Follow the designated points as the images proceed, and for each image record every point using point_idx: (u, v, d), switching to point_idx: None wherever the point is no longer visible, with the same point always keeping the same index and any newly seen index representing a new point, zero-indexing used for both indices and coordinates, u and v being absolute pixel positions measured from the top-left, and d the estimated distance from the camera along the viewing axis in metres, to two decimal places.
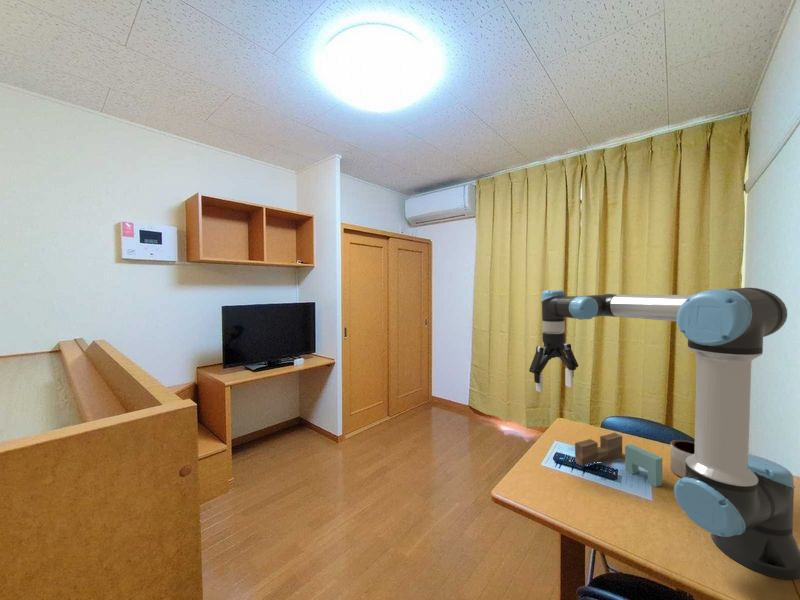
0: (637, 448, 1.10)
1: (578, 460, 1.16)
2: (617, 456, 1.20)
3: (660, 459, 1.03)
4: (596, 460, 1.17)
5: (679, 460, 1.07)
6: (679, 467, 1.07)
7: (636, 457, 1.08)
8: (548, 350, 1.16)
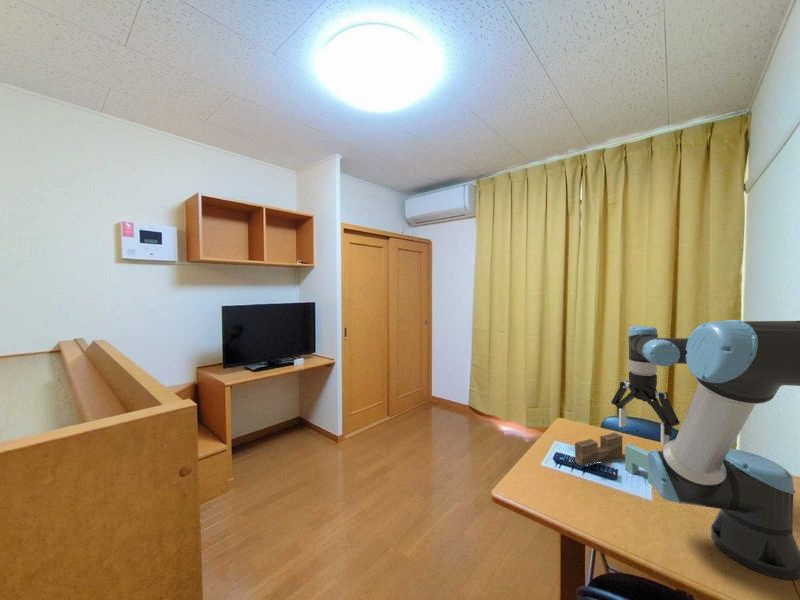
0: (637, 448, 1.10)
1: (578, 460, 1.16)
2: (617, 456, 1.20)
3: None
4: (596, 460, 1.17)
5: None
6: None
7: (636, 457, 1.08)
8: (630, 388, 1.10)
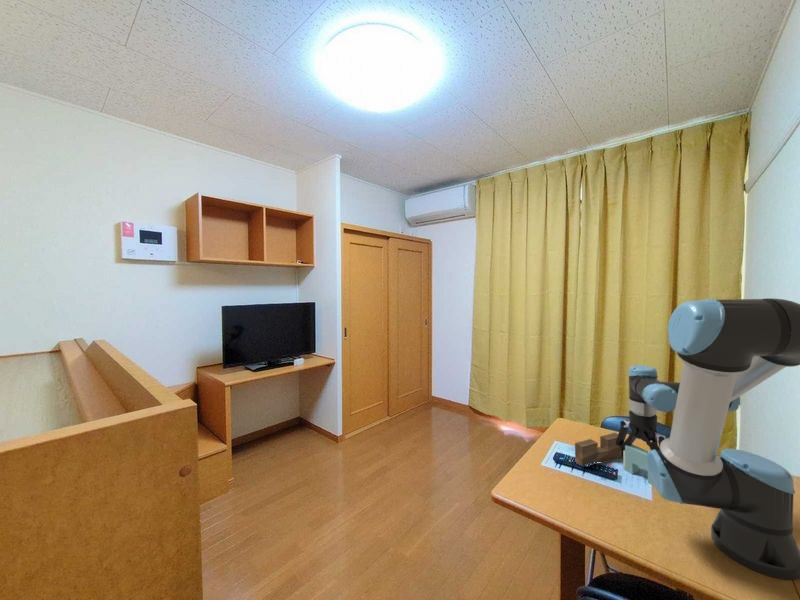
0: (637, 448, 1.10)
1: (578, 460, 1.16)
2: (617, 456, 1.20)
3: None
4: (596, 460, 1.17)
5: None
6: None
7: (636, 457, 1.08)
8: (630, 427, 1.10)
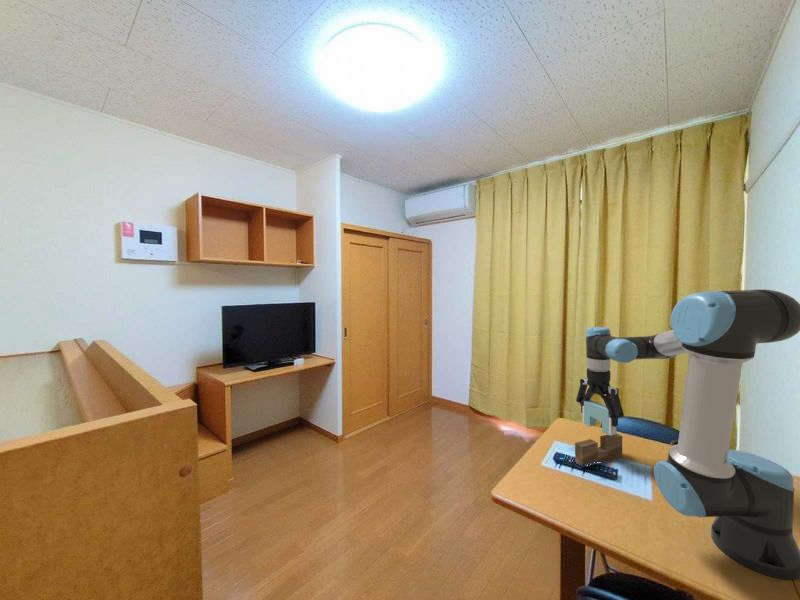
0: (594, 402, 1.20)
1: (578, 460, 1.16)
2: (617, 456, 1.20)
3: None
4: (596, 460, 1.17)
5: None
6: None
7: (593, 410, 1.19)
8: (588, 383, 1.20)
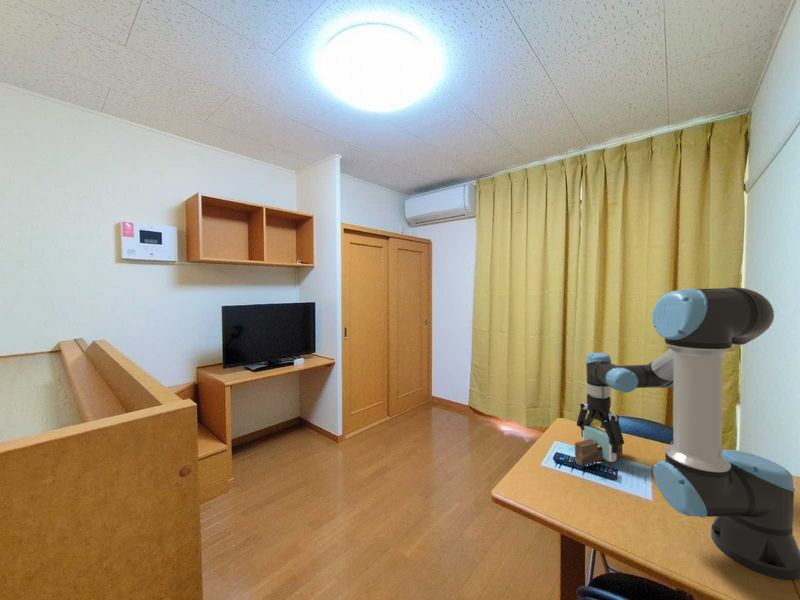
0: (594, 427, 1.21)
1: (578, 460, 1.16)
2: (617, 456, 1.20)
3: None
4: (596, 460, 1.17)
5: None
6: None
7: (593, 435, 1.19)
8: (588, 408, 1.21)
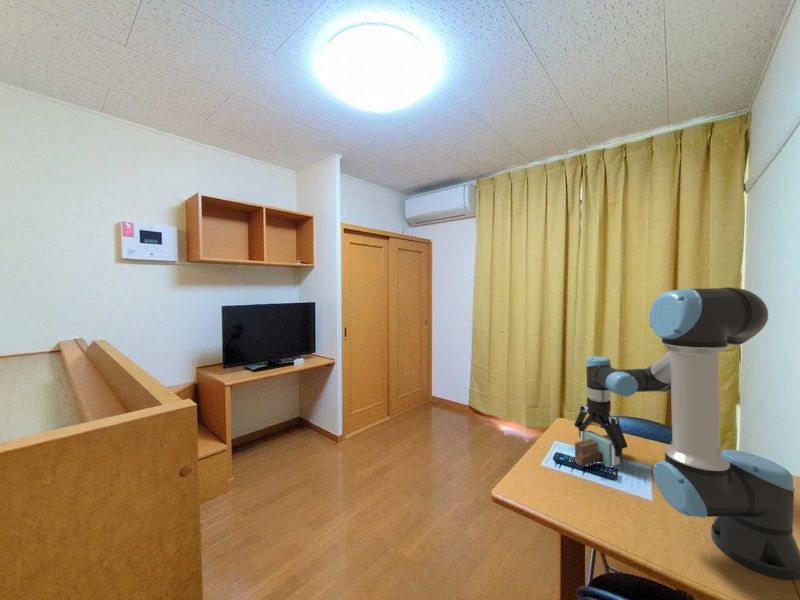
0: (595, 434, 1.21)
1: (578, 460, 1.16)
2: None
3: None
4: (596, 460, 1.17)
5: None
6: None
7: None
8: (588, 412, 1.21)
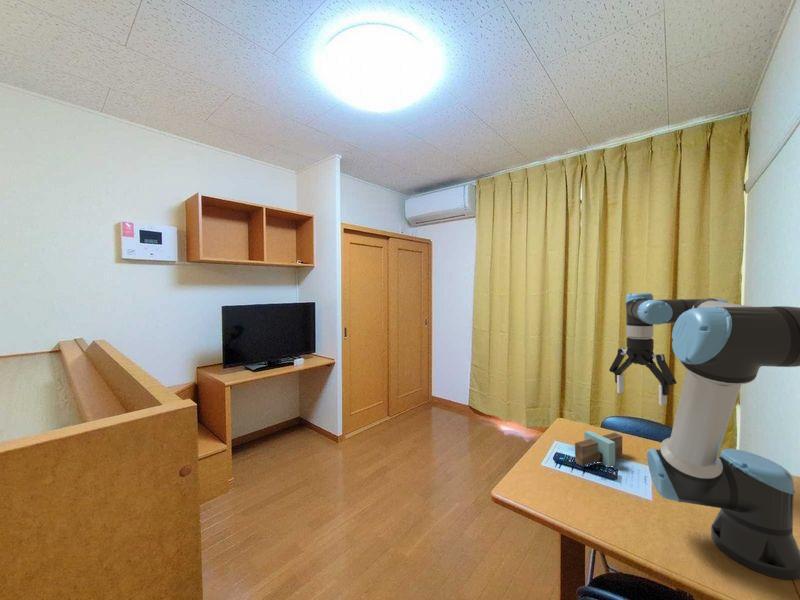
0: (595, 434, 1.21)
1: (578, 460, 1.16)
2: (617, 456, 1.20)
3: (613, 443, 1.14)
4: (596, 460, 1.17)
5: None
6: None
7: None
8: (627, 354, 1.14)
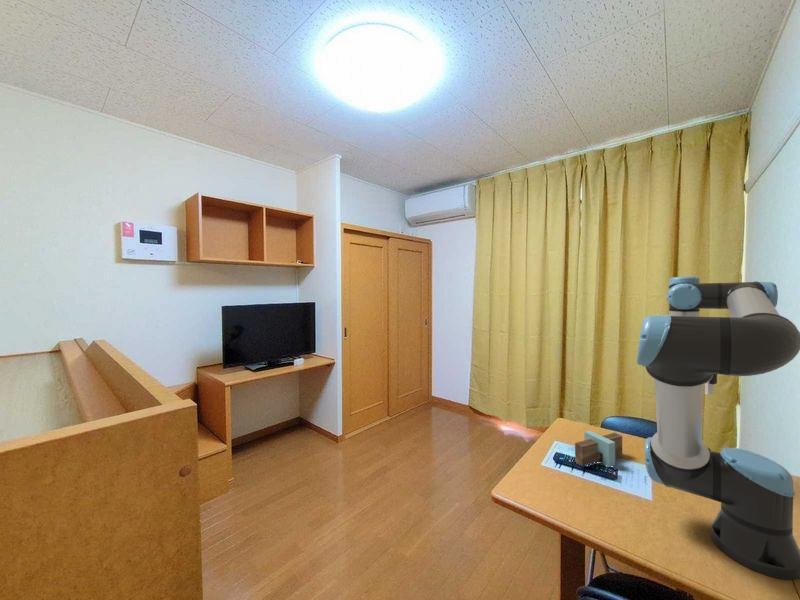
0: (595, 434, 1.21)
1: (578, 460, 1.16)
2: (617, 456, 1.20)
3: (613, 443, 1.14)
4: (596, 460, 1.17)
5: None
6: None
7: None
8: None
